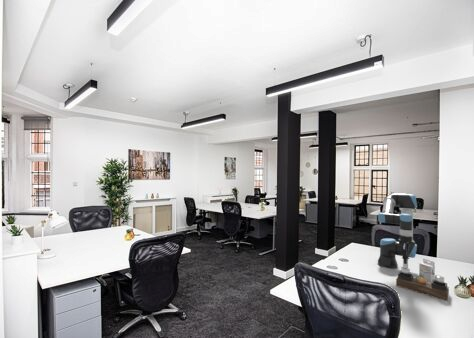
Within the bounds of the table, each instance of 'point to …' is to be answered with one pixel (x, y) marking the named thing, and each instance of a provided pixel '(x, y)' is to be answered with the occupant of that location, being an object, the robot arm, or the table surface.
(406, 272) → the knob
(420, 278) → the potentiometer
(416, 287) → the brown long low box
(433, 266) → the ink box
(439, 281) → the knob
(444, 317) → the table surface
